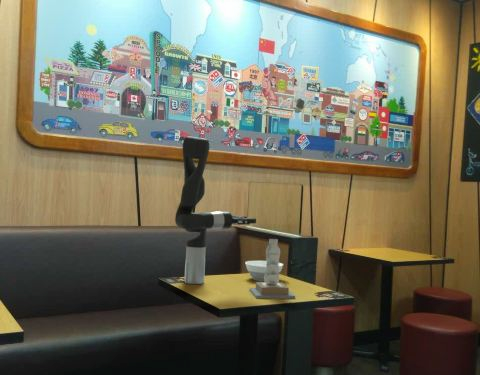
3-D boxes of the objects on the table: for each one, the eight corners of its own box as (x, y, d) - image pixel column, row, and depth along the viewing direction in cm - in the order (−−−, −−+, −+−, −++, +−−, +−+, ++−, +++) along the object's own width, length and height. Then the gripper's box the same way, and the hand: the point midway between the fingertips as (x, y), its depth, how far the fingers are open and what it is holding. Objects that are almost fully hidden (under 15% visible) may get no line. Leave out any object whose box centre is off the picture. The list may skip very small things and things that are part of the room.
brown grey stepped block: (256, 298, 215) (256, 288, 215) (249, 290, 230) (249, 280, 230) (295, 298, 218) (295, 288, 218) (285, 290, 233) (286, 281, 233)
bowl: (268, 285, 246) (269, 267, 246) (236, 279, 257) (237, 262, 257) (289, 280, 261) (290, 264, 261) (258, 274, 273) (259, 259, 273)
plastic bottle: (269, 282, 229) (271, 238, 229) (281, 284, 224) (283, 239, 224) (260, 284, 224) (262, 238, 224) (273, 286, 219) (275, 240, 219)
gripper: (227, 213, 220) (259, 213, 228) (212, 210, 232) (243, 210, 240) (226, 230, 220) (258, 229, 228) (212, 226, 232) (242, 225, 240)
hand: (250, 219), depth 234 cm, fingers open, 8 cm apart
